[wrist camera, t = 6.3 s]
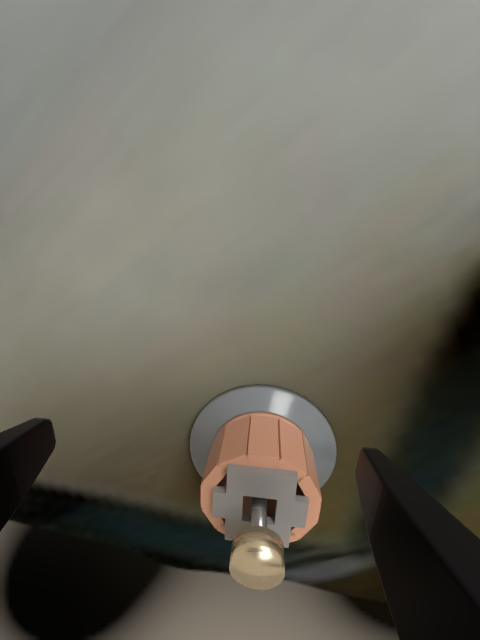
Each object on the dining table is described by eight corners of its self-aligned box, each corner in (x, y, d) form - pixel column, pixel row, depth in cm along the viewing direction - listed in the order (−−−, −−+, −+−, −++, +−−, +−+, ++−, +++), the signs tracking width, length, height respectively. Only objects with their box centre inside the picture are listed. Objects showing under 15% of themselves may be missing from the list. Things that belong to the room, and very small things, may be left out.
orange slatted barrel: (302, 512, 26) (310, 579, 21) (212, 501, 26) (199, 564, 21) (316, 416, 22) (329, 469, 18) (213, 406, 23) (198, 455, 18)
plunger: (290, 489, 24) (300, 608, 16) (227, 482, 24) (209, 595, 17) (297, 437, 22) (311, 543, 15) (229, 430, 23) (209, 530, 15)
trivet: (324, 509, 26) (325, 515, 25) (192, 493, 27) (190, 499, 26) (345, 391, 22) (347, 396, 22) (190, 378, 23) (188, 382, 23)
